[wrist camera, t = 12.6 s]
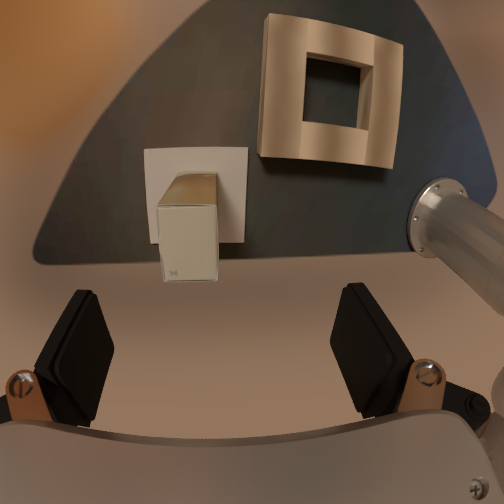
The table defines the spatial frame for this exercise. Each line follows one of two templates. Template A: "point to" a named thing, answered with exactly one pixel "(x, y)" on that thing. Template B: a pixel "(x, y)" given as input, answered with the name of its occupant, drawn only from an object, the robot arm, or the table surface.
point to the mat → (201, 159)
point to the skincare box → (189, 228)
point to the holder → (293, 83)
